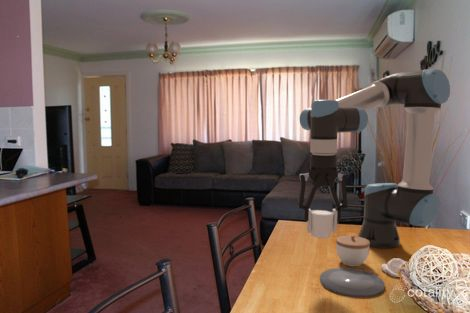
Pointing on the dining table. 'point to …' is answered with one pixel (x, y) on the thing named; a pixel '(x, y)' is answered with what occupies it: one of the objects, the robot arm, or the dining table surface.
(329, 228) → the white cup
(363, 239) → the lidded jar
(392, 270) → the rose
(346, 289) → the dish
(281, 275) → the dining table surface
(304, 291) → the dining table surface
